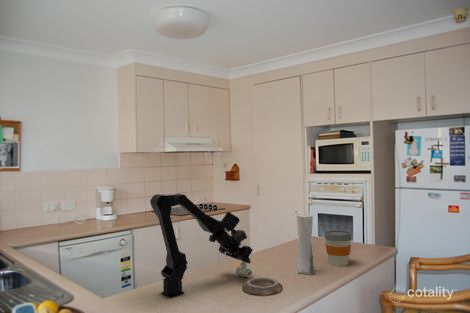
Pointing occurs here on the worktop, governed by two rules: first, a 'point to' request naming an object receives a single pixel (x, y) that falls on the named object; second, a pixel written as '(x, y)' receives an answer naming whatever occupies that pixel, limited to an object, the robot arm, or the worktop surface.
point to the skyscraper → (305, 244)
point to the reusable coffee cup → (338, 247)
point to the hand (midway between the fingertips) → (246, 261)
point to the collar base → (262, 286)
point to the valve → (243, 270)
